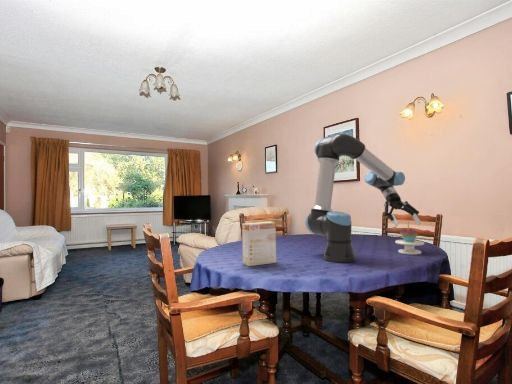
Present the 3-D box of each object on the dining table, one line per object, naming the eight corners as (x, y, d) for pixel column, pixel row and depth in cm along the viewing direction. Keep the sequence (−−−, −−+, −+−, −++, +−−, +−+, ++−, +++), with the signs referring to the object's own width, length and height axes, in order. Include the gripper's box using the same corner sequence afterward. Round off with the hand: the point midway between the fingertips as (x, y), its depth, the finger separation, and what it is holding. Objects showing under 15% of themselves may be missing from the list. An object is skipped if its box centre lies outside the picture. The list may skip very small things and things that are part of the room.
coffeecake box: (269, 260, 150) (269, 221, 151) (276, 263, 144) (276, 222, 144) (242, 263, 144) (241, 222, 144) (248, 266, 138) (247, 223, 138)
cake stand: (396, 254, 160) (396, 243, 160) (394, 249, 173) (394, 239, 173) (426, 256, 154) (426, 244, 154) (422, 251, 167) (422, 240, 168)
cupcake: (417, 243, 158) (416, 220, 158) (399, 242, 162) (398, 219, 162) (418, 241, 165) (417, 219, 165) (401, 239, 170) (400, 218, 170)
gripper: (408, 200, 184) (425, 228, 169) (370, 201, 181) (384, 229, 166) (413, 192, 179) (432, 219, 164) (374, 192, 175) (389, 220, 161)
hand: (408, 224), depth 165 cm, fingers open, 13 cm apart
